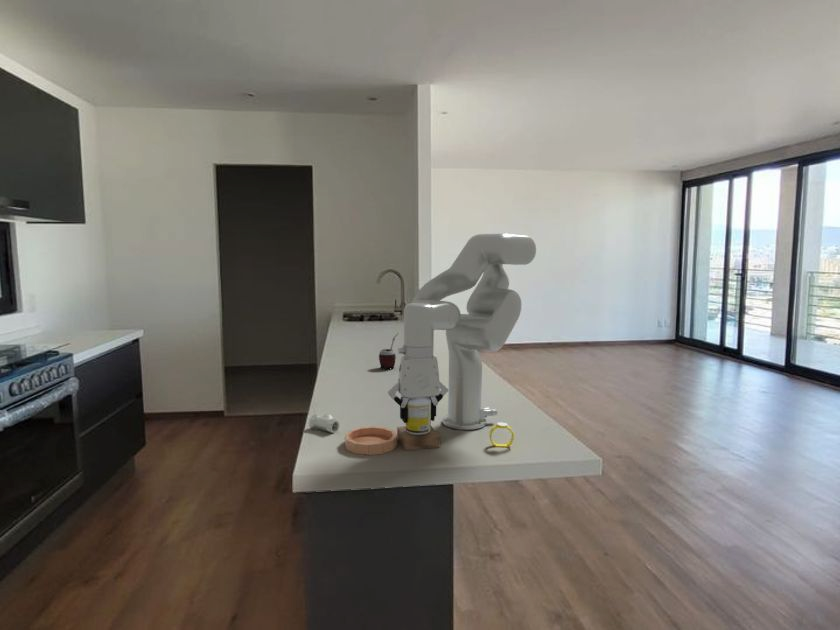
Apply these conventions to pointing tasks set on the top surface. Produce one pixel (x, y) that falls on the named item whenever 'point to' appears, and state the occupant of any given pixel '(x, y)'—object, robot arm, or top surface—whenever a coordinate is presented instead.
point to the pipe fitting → (324, 423)
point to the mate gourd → (387, 357)
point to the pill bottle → (418, 416)
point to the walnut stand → (418, 439)
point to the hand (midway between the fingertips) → (418, 419)
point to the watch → (501, 425)
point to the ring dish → (370, 440)
